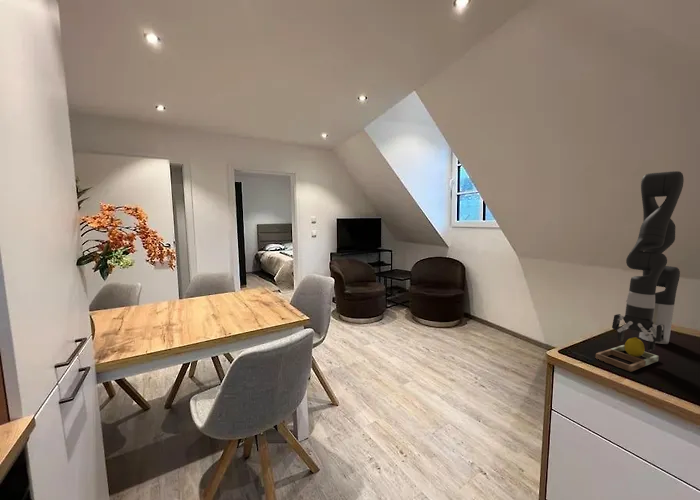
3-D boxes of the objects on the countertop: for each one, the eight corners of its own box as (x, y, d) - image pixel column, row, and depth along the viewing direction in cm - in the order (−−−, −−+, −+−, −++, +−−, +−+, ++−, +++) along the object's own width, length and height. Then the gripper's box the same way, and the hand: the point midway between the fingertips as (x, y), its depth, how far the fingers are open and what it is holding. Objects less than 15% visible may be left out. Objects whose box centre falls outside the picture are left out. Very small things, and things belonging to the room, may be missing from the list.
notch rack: (622, 349, 121) (623, 344, 121) (658, 361, 112) (658, 355, 111) (595, 358, 112) (595, 353, 112) (630, 371, 103) (631, 366, 103)
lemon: (647, 361, 111) (650, 341, 110) (629, 359, 112) (632, 339, 111) (636, 355, 116) (638, 335, 115) (619, 353, 117) (622, 333, 117)
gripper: (671, 308, 107) (664, 351, 109) (621, 298, 120) (616, 337, 122) (661, 311, 104) (655, 355, 106) (611, 300, 117) (607, 340, 118)
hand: (634, 345), depth 114 cm, fingers open, 8 cm apart
